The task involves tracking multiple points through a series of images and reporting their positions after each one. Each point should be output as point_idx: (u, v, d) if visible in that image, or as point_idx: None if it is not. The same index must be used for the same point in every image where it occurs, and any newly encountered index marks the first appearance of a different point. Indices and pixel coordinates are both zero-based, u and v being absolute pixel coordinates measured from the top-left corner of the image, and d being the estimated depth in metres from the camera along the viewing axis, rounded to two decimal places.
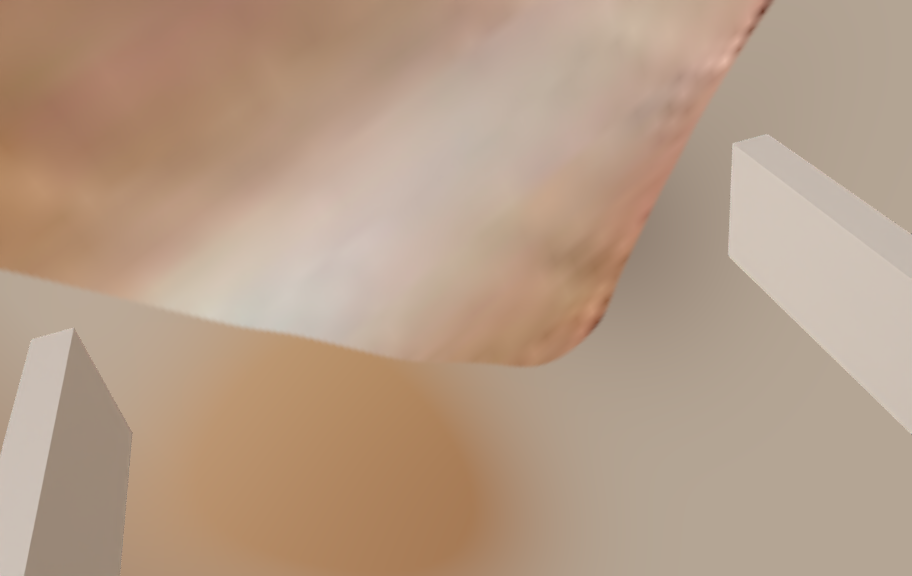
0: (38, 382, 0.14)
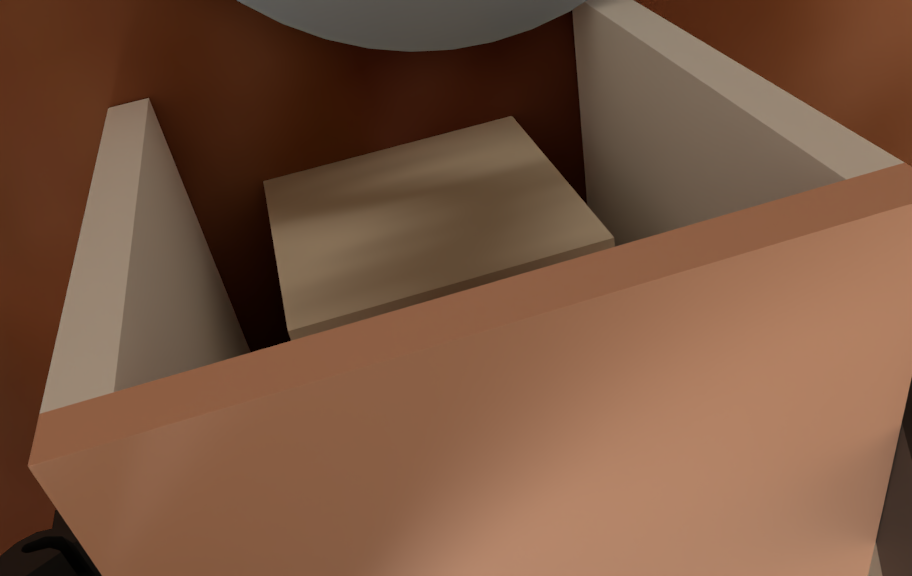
0: None
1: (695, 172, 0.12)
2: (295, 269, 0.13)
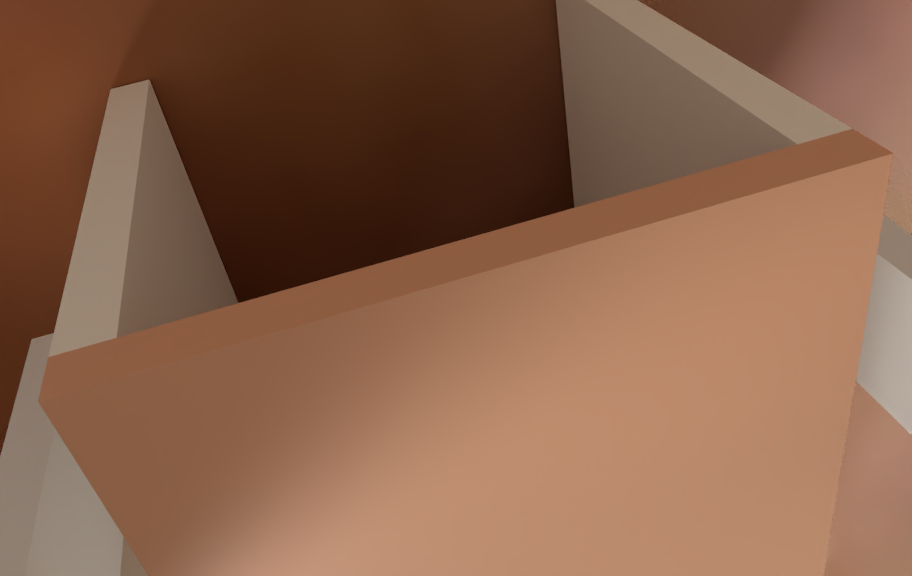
0: (38, 382, 0.14)
1: (667, 146, 0.13)
2: None
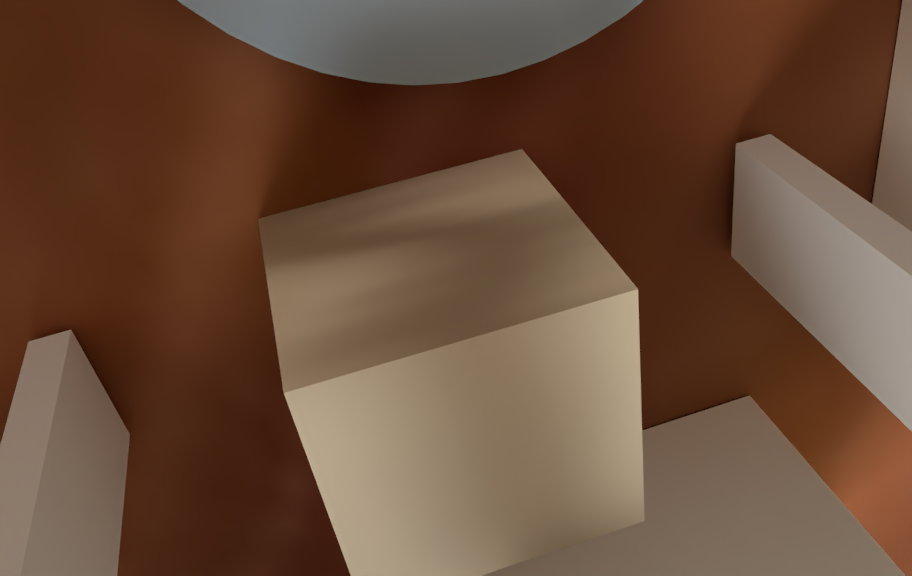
0: (35, 385, 0.14)
1: None
2: (290, 320, 0.12)
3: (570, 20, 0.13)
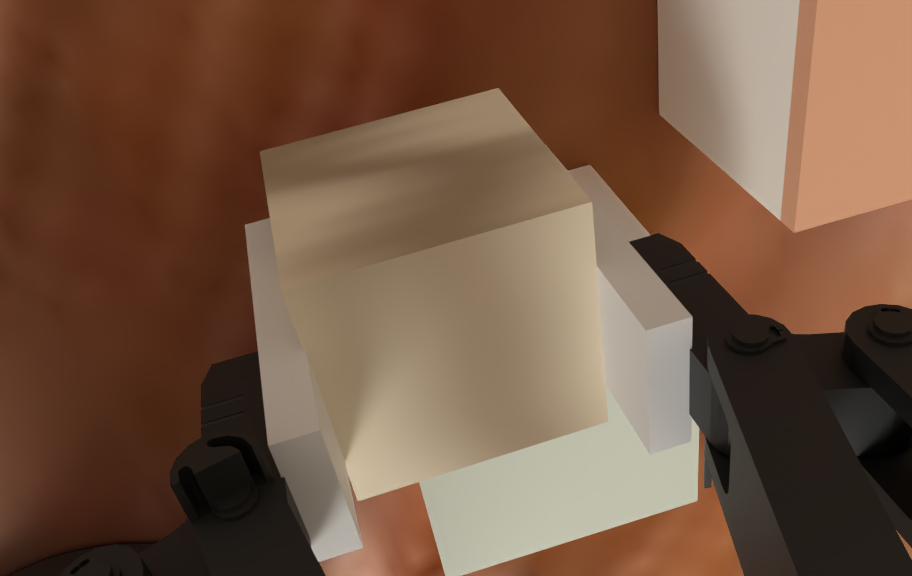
0: (264, 254, 0.16)
1: None
2: (288, 234, 0.14)
3: None
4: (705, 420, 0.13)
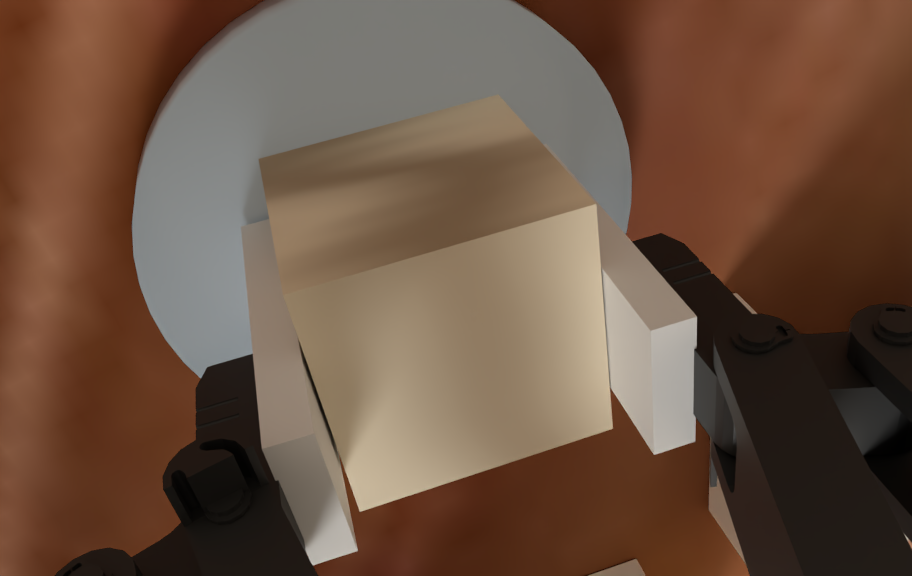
0: (261, 256, 0.16)
1: None
2: (289, 239, 0.14)
3: None
4: (711, 419, 0.13)
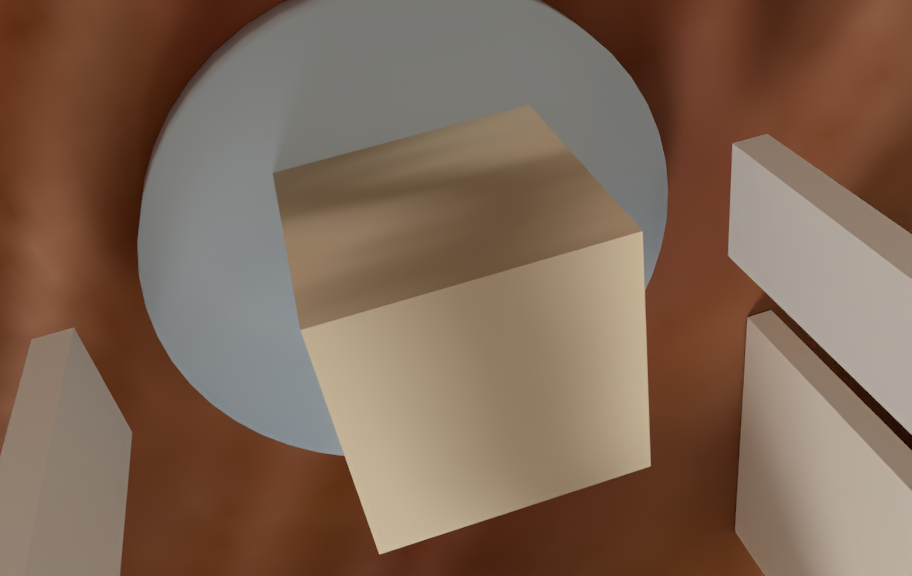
0: (38, 382, 0.14)
1: None
2: (306, 266, 0.13)
3: None
4: None
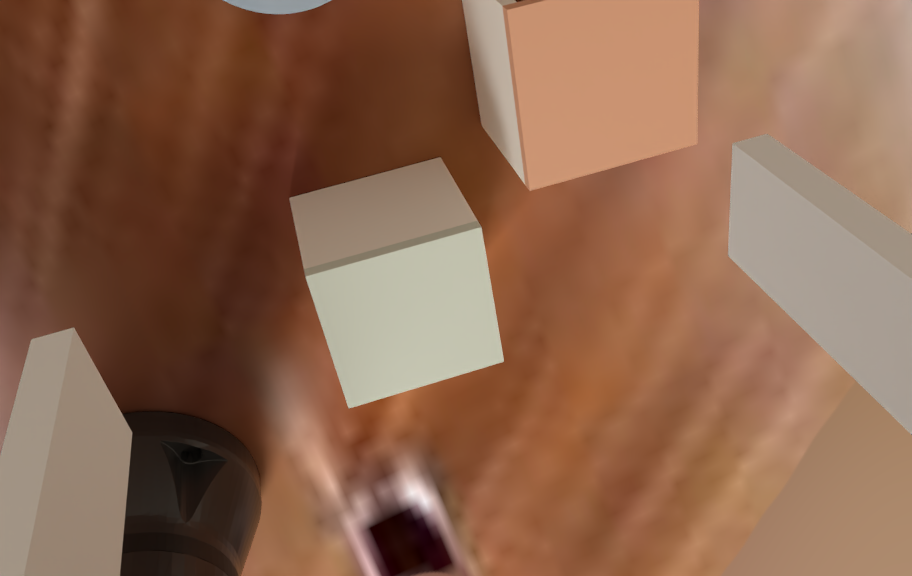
0: (38, 382, 0.14)
1: None
2: None
3: None
4: None
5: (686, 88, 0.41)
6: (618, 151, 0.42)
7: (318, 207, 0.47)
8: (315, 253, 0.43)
